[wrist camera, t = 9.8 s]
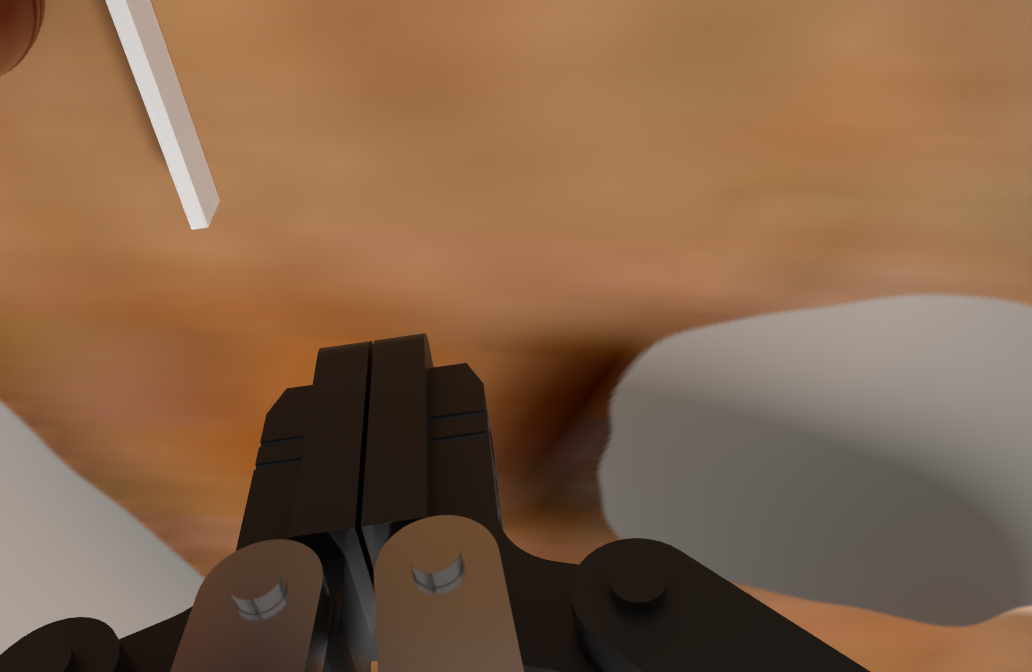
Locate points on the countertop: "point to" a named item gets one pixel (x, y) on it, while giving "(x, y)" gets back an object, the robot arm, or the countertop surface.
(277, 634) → the robot arm
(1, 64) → the mug
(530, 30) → the countertop surface
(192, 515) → the countertop surface
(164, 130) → the tray
